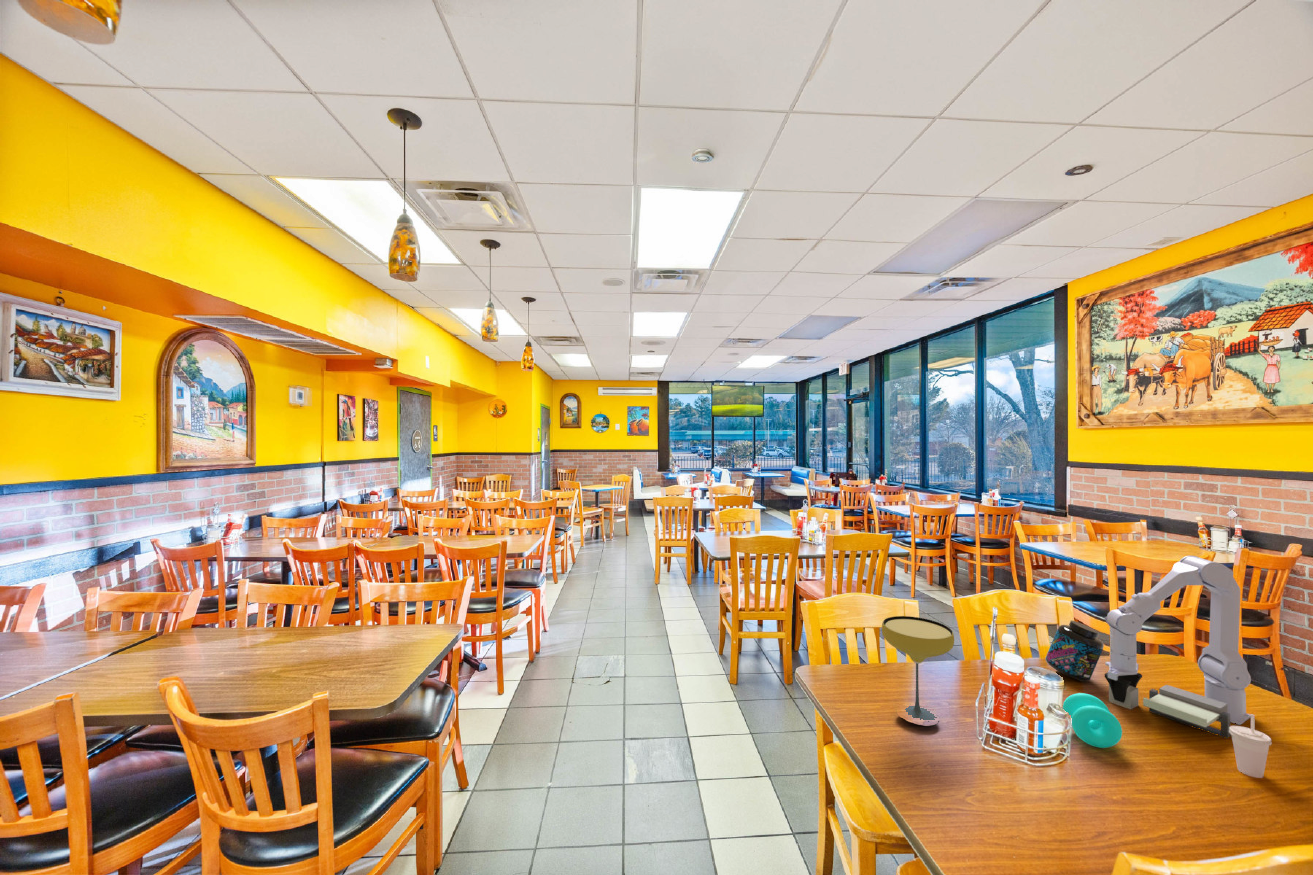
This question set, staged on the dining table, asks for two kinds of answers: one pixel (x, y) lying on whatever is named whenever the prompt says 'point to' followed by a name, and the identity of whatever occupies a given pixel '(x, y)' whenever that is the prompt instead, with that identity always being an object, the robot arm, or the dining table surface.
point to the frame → (1224, 724)
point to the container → (1075, 650)
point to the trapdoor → (1186, 705)
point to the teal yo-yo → (1093, 720)
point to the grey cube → (1130, 699)
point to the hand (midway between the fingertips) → (1123, 698)
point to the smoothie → (1250, 749)
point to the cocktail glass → (918, 646)
